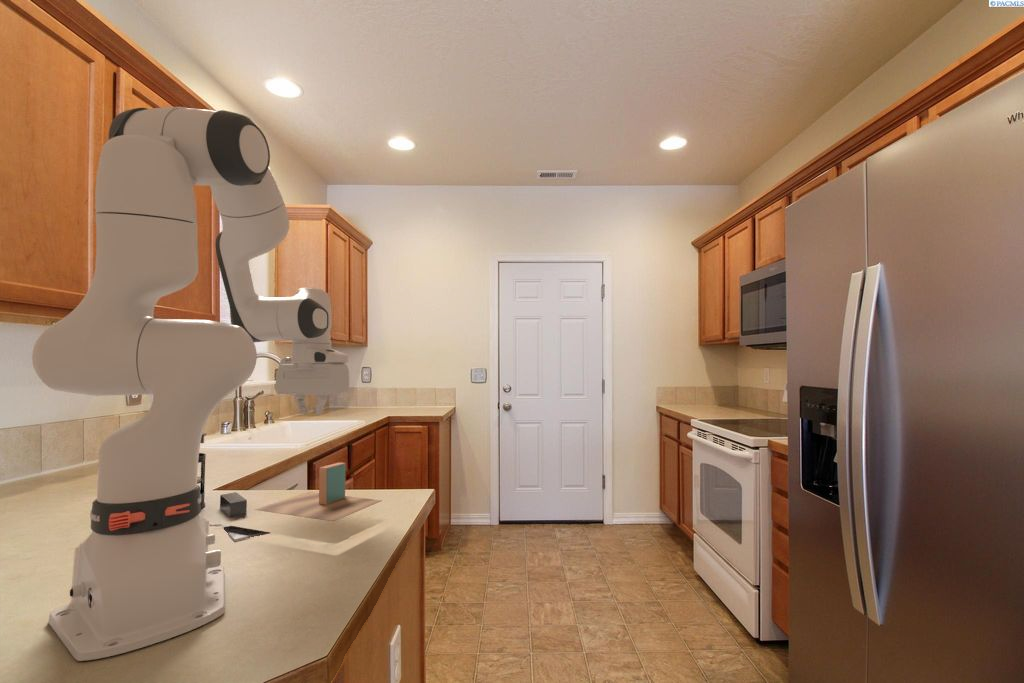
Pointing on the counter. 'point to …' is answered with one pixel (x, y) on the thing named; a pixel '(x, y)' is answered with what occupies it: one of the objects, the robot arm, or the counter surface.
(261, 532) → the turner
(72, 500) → the counter surface
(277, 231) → the robot arm
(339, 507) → the board
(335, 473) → the tile
